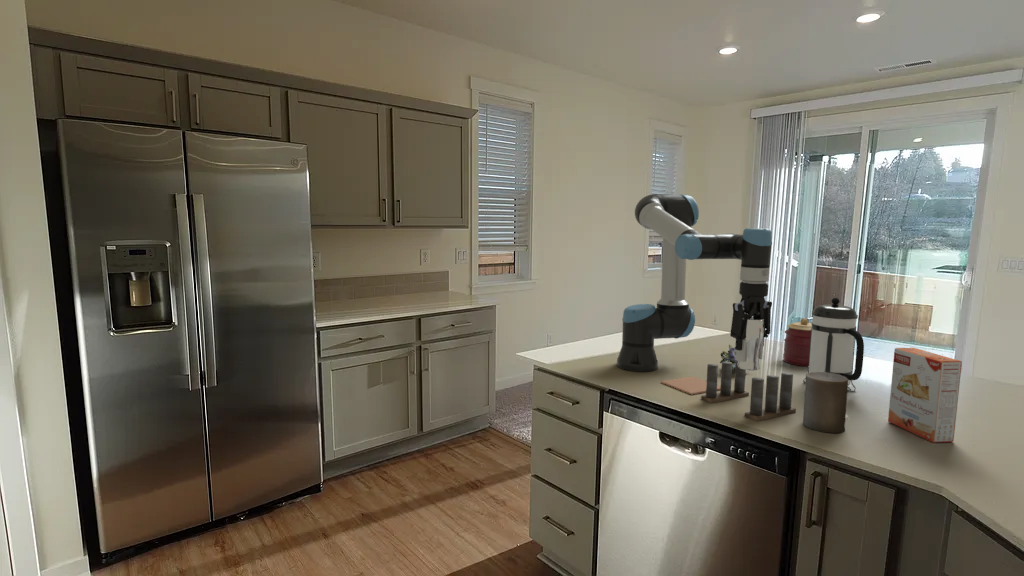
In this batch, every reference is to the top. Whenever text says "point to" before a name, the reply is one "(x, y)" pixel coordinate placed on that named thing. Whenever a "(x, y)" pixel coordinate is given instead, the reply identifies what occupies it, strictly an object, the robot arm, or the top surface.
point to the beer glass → (752, 344)
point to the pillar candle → (825, 402)
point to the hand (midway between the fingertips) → (748, 359)
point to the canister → (797, 343)
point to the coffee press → (835, 341)
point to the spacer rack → (756, 391)
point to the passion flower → (729, 356)
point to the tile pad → (689, 385)
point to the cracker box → (925, 393)
